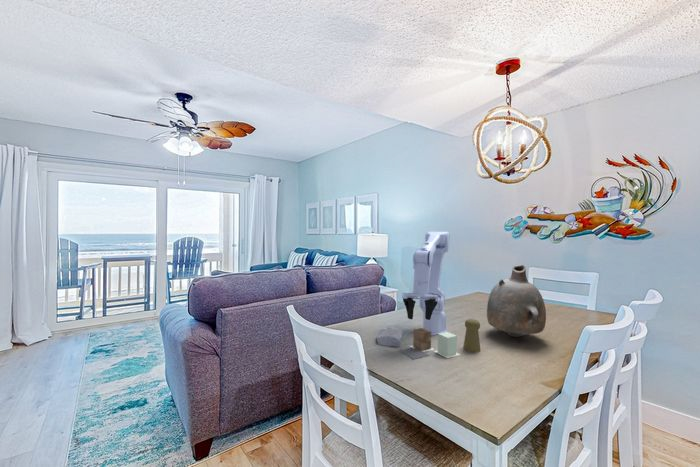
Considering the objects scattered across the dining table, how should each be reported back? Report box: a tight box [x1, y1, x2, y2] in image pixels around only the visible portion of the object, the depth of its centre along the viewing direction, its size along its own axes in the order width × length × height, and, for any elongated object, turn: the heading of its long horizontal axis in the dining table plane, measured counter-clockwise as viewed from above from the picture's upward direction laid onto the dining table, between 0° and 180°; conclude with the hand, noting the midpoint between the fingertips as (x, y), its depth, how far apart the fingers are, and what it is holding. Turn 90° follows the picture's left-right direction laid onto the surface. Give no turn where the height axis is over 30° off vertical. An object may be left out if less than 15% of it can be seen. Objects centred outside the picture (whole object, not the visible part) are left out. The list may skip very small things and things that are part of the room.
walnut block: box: [412, 327, 432, 351], centre depth 113 cm, size 4×4×6 cm
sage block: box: [437, 331, 458, 356], centre depth 109 cm, size 4×4×6 cm
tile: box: [433, 349, 461, 359], centre depth 109 cm, size 6×6×1 cm
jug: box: [486, 264, 547, 338], centre depth 126 cm, size 24×21×30 cm
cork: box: [462, 318, 481, 353], centre depth 113 cm, size 6×6×11 cm
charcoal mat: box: [400, 348, 430, 361], centre depth 108 cm, size 7×7×1 cm
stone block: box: [376, 327, 403, 347], centre depth 120 cm, size 12×5×10 cm
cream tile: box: [409, 345, 435, 353], centre depth 113 cm, size 6×6×1 cm
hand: (419, 319), depth 113 cm, fingers open, 7 cm apart
